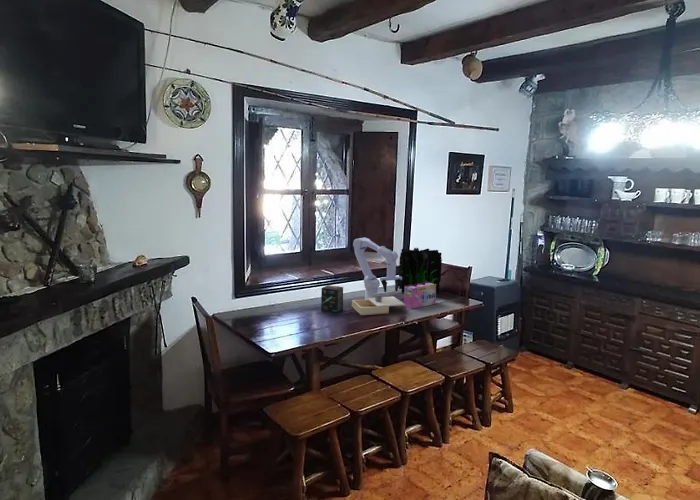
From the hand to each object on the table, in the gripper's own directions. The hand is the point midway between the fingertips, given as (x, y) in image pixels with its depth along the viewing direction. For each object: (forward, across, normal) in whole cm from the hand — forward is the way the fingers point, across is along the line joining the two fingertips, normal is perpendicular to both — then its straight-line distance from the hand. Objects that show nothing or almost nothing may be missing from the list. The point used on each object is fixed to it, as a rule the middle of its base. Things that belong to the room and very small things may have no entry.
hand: (390, 291), depth 299 cm
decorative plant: (+10, +38, +36) cm, 53 cm away
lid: (+6, -5, -4) cm, 8 cm away
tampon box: (+10, -38, +2) cm, 40 cm away
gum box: (+11, +21, +1) cm, 24 cm away
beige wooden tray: (+10, -15, -4) cm, 19 cm away
